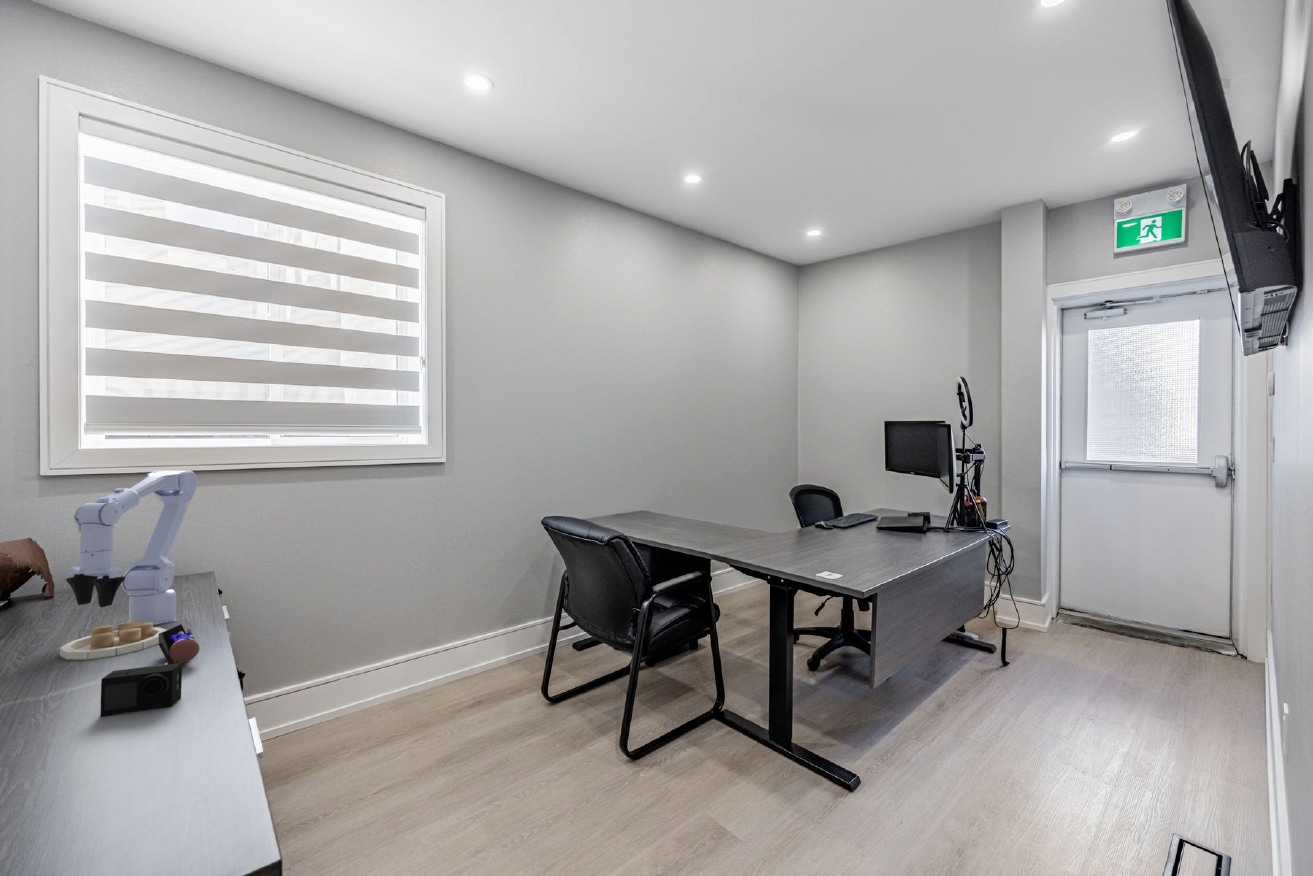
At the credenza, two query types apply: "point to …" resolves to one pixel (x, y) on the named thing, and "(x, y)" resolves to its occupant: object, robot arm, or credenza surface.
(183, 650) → the character figurine
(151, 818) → the credenza surface
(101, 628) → the bead
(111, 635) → the seated bead
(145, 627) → the seated bead
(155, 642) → the tray
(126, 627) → the bead
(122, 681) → the digital camera
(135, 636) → the seated bead
